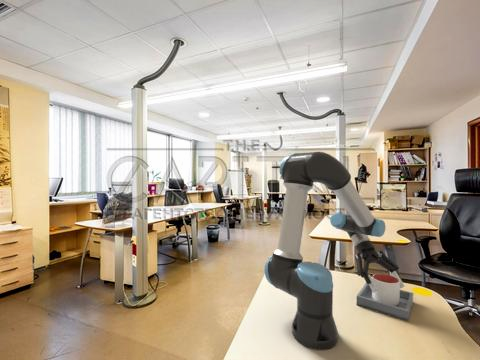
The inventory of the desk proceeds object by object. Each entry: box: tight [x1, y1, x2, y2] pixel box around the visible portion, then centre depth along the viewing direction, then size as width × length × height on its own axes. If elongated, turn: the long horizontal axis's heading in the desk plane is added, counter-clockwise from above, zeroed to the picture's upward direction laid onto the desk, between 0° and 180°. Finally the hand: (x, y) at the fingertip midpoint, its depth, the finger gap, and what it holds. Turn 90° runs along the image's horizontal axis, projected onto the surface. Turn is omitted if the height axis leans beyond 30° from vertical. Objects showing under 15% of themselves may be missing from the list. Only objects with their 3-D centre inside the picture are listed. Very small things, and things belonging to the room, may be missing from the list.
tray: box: [356, 282, 414, 322], centre depth 104 cm, size 18×18×4 cm
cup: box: [371, 273, 401, 306], centre depth 103 cm, size 10×10×10 cm
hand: (389, 289), depth 102 cm, fingers open, 13 cm apart
